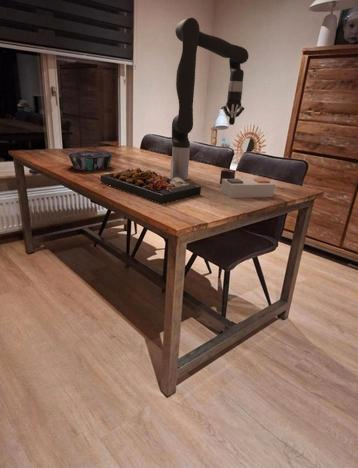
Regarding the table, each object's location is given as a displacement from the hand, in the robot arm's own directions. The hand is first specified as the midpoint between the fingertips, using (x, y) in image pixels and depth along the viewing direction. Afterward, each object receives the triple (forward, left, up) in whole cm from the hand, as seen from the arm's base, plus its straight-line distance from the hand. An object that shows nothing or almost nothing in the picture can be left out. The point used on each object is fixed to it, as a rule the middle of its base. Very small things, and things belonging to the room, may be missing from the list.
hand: (231, 124), depth 181 cm
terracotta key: (+2, -38, -26) cm, 46 cm away
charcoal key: (-12, -38, -26) cm, 48 cm away
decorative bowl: (-77, +26, -29) cm, 86 cm away
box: (-7, -18, -29) cm, 35 cm away
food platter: (-51, -24, -30) cm, 64 cm away
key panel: (-5, -38, -29) cm, 48 cm away
